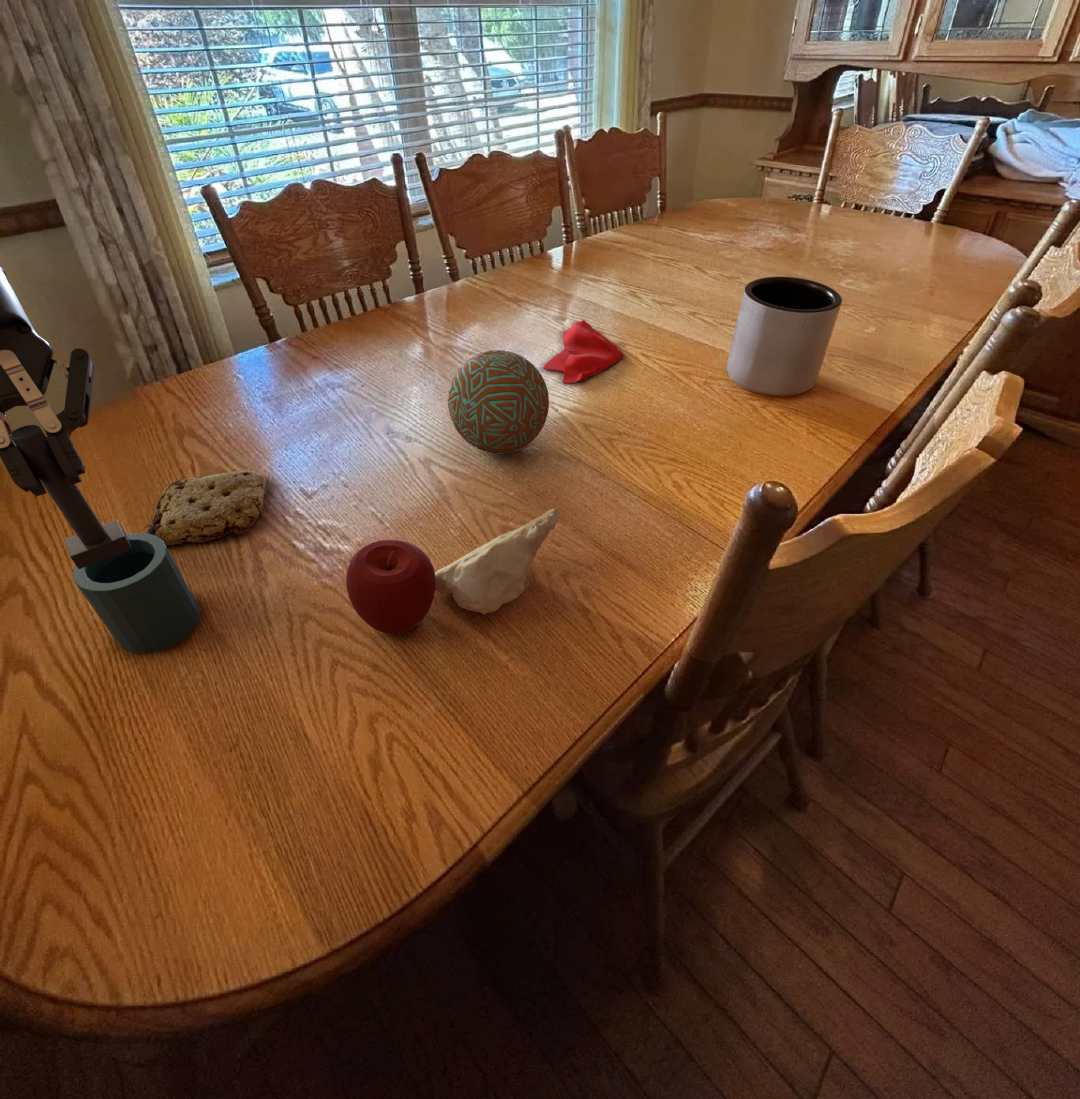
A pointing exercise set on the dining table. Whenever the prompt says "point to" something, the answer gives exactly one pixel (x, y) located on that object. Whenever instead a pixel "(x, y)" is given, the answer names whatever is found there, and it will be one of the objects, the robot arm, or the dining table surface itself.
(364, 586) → the apple
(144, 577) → the crock
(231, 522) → the pastry
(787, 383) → the planter
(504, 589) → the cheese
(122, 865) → the dining table surface
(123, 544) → the t-shaped mushroom stamp
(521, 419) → the decorative sphere
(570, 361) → the cloth
